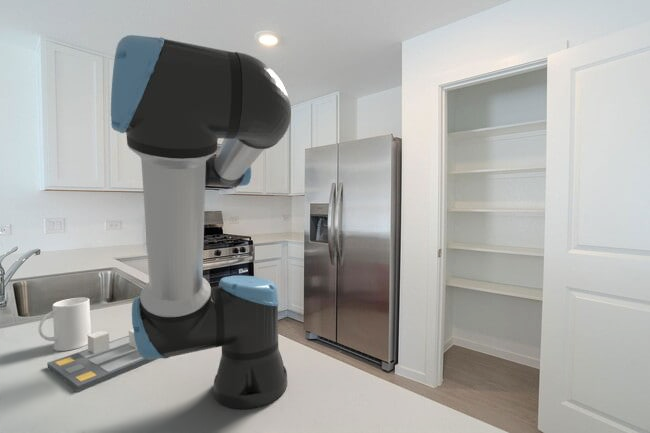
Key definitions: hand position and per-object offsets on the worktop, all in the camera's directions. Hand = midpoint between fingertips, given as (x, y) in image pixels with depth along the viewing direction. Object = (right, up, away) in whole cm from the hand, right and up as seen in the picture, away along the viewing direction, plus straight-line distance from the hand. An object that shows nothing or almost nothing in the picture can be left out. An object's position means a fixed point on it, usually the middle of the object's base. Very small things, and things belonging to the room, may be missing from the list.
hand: (175, 295), depth 90 cm
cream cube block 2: (-9, -13, -2) cm, 15 cm away
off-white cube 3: (-18, -13, -5) cm, 22 cm away
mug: (-30, -14, 0) cm, 33 cm away
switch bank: (-12, -14, -7) cm, 20 cm away
